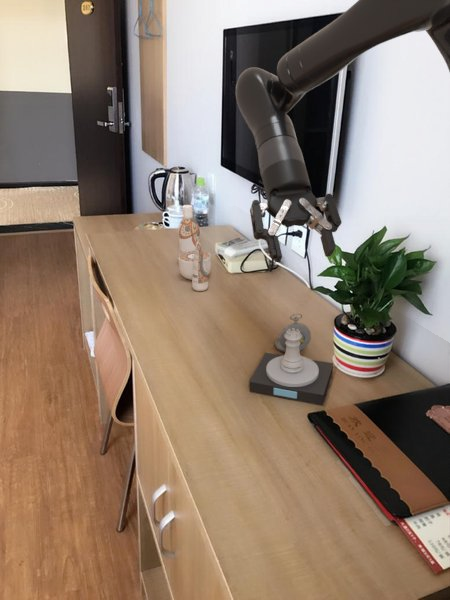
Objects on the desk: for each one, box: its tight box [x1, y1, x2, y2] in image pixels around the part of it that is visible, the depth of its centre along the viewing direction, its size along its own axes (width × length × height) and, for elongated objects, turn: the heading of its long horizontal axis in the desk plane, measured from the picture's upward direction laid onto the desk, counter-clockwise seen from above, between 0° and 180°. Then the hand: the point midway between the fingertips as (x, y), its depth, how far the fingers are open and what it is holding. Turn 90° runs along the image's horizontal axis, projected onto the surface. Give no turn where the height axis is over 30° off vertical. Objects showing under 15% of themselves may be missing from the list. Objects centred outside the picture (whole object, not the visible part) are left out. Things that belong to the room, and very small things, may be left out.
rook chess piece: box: [281, 328, 304, 374], centre depth 95 cm, size 4×4×8 cm
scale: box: [248, 352, 334, 406], centre depth 97 cm, size 14×11×3 cm
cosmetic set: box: [177, 204, 212, 292], centre depth 143 cm, size 25×9×19 cm, turn 12°
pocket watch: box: [274, 313, 312, 353], centre depth 107 cm, size 8×8×10 cm
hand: (304, 257), depth 80 cm, fingers open, 8 cm apart
